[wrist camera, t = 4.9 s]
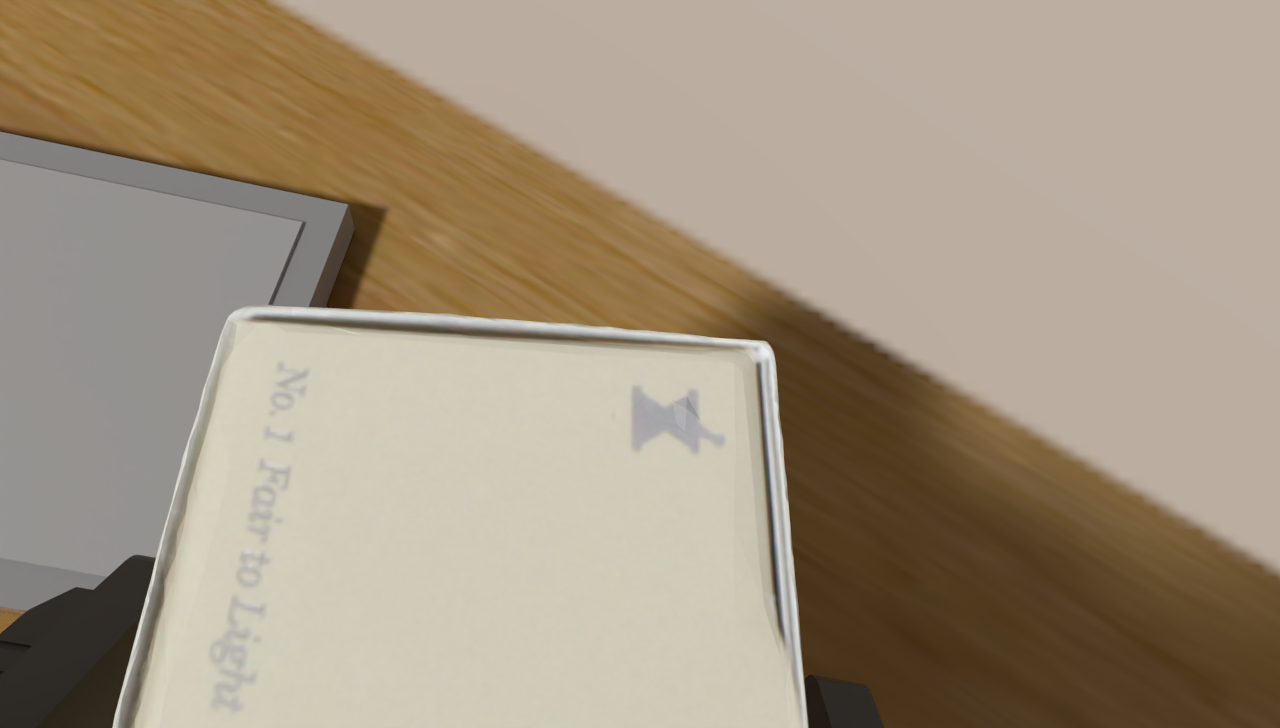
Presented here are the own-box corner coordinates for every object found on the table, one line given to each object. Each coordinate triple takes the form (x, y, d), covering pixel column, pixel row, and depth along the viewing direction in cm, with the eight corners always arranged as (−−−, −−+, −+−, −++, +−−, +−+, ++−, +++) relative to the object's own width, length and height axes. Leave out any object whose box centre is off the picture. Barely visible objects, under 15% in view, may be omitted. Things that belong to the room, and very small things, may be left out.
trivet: (355, 228, 20) (347, 202, 19) (198, 644, 16) (178, 636, 15) (-61, 142, 20) (-90, 110, 19) (-348, 550, 15) (-407, 536, 14)
